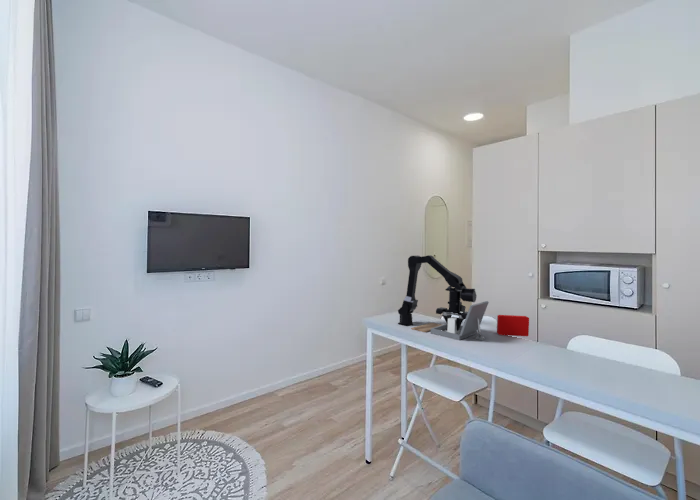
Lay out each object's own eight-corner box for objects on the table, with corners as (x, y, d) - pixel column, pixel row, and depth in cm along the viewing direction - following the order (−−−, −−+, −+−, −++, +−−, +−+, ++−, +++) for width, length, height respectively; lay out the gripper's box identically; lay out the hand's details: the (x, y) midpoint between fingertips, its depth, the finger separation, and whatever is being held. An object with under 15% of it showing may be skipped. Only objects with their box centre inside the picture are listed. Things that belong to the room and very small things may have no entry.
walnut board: (411, 329, 187) (411, 328, 187) (431, 323, 201) (431, 322, 201) (425, 332, 180) (425, 331, 180) (445, 326, 195) (445, 325, 195)
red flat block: (526, 334, 181) (526, 316, 180) (528, 336, 178) (529, 317, 178) (496, 333, 182) (497, 314, 182) (498, 335, 179) (499, 315, 179)
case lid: (470, 305, 164) (472, 306, 163) (486, 301, 177) (488, 301, 177) (459, 334, 168) (461, 336, 167) (476, 328, 181) (478, 329, 181)
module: (447, 333, 179) (447, 318, 179) (452, 331, 184) (453, 316, 183) (454, 335, 176) (455, 319, 176) (460, 333, 181) (460, 318, 181)
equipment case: (430, 333, 179) (431, 314, 179) (448, 327, 192) (449, 309, 192) (474, 343, 162) (475, 322, 162) (491, 336, 176) (491, 316, 176)
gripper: (478, 300, 179) (477, 330, 179) (446, 295, 192) (445, 323, 192) (469, 303, 171) (468, 334, 171) (435, 298, 184) (434, 327, 184)
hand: (453, 329), depth 180 cm, fingers open, 4 cm apart
